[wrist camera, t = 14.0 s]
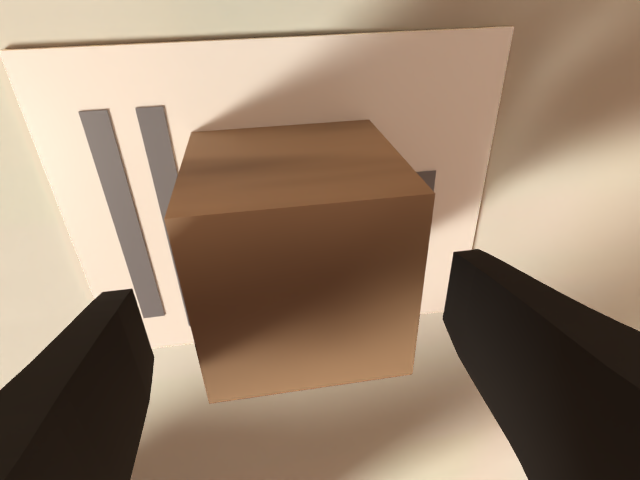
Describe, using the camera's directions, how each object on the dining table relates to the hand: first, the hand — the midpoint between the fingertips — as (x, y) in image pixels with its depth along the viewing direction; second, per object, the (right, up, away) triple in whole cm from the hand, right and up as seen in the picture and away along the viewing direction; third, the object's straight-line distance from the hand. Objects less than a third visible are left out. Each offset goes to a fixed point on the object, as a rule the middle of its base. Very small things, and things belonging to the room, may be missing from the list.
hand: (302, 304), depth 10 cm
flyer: (-1, +2, +4) cm, 5 cm away
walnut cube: (-1, +3, +4) cm, 4 cm away
